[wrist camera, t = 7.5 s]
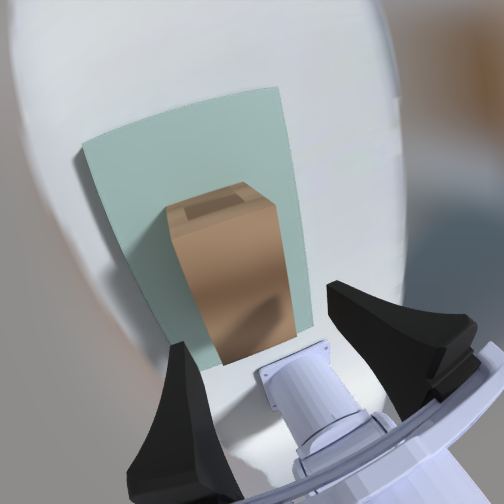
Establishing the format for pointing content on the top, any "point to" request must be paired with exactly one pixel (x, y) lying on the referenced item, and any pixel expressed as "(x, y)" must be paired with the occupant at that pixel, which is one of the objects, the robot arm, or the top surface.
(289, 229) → the pin board
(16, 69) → the top surface
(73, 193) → the top surface
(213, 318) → the box
